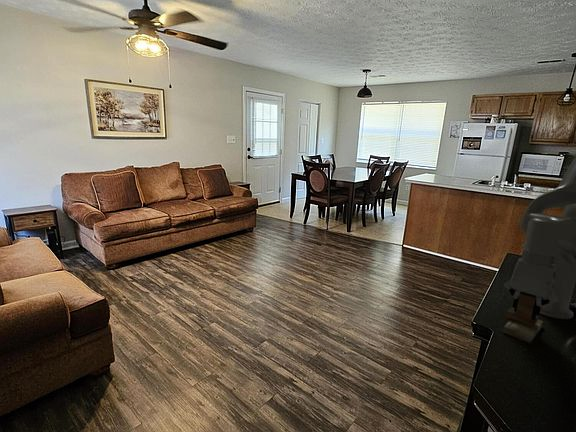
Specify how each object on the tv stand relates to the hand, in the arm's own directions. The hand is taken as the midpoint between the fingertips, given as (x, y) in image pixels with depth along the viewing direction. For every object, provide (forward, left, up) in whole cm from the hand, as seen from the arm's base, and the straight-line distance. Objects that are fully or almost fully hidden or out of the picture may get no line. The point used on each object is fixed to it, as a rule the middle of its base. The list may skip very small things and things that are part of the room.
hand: (525, 312), depth 100 cm
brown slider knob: (0, 0, -5) cm, 5 cm away
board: (+1, +1, -5) cm, 5 cm away
